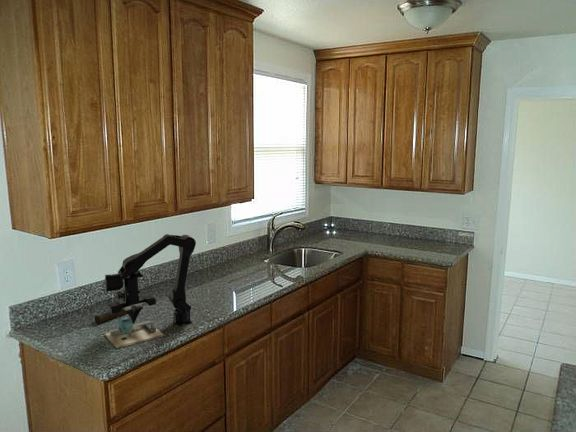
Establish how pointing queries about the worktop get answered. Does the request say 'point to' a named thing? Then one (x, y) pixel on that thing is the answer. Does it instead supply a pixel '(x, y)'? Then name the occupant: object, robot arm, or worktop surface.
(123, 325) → the sliding leg
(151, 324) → the fixed leg
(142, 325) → the rail
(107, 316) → the hand tool
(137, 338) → the template board
